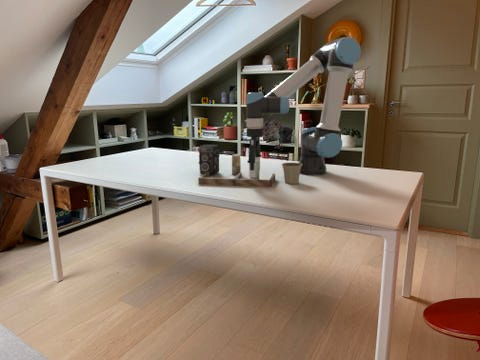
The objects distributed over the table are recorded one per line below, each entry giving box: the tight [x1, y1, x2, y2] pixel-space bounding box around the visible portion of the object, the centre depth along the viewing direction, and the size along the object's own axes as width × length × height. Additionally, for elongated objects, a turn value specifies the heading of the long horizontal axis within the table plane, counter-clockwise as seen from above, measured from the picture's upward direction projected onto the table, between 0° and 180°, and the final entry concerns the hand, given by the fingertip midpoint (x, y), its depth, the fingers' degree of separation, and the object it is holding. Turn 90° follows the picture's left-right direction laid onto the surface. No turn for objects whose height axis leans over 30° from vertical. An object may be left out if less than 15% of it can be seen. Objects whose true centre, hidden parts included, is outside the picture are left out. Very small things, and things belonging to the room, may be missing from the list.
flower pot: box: [281, 162, 302, 185], centre depth 165 cm, size 9×9×9 cm
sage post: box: [249, 161, 260, 180], centre depth 165 cm, size 4×4×10 cm
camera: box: [197, 144, 221, 176], centre depth 183 cm, size 10×10×15 cm
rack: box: [197, 172, 276, 188], centre depth 168 cm, size 34×14×3 cm, turn 79°
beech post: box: [231, 153, 242, 176], centre depth 183 cm, size 4×4×10 cm
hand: (254, 173), depth 165 cm, fingers open, 13 cm apart
